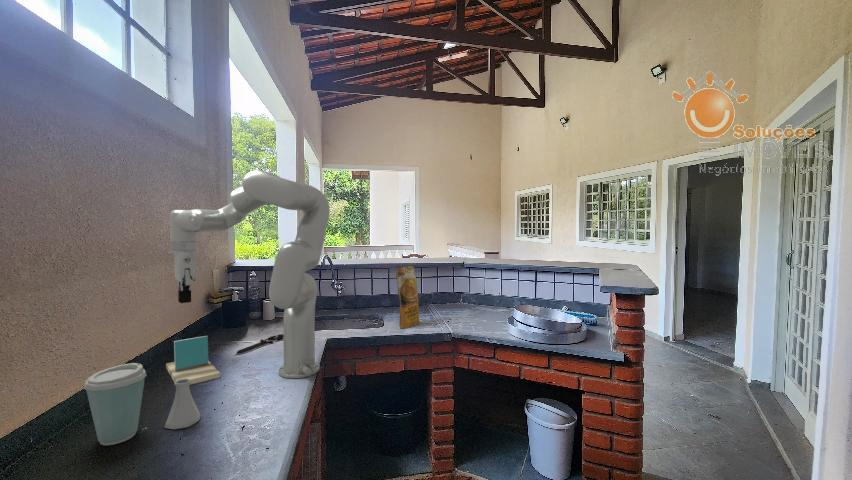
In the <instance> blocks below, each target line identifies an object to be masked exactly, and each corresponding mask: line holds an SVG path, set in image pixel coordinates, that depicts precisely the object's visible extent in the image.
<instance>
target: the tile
mask: <svg viewBox="0 0 852 480" xmlns="http://www.w3.org/2000/svg"><path fill="white" fill-rule="evenodd" d="M173 351H174V354H173V355H174V362H175V371H178V370H183V369H188V368H192V367H197V366H202V365H206V364H209V362H210V361H209V337H208V335H203V336H196V337H192V338H191V337H190V338H186V339H179V340H173Z"/></svg>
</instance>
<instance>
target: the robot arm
mask: <svg viewBox="0 0 852 480" xmlns="http://www.w3.org/2000/svg"><path fill="white" fill-rule="evenodd" d="M229 201H230V203H229V204H227V205H224V206H223V207H221V208H219V209H202V208H197V209H196V208H195V209H174V210H172V211H170V213H169V238H170V239H169V241H170V245H169V247H170V253H173V254H174V256H173V257H174V263H173V264H174V278H175V280H176V281H178V283H177V284H178V291H177V295H178V296H177V297H178V298H177V300H178V303H180V304H186V303H192V287H191V286H192V282H196V281H197V279H198V277H197V274H198V273H197V263H196V262H197V260H196V259H197V258H196V252H198V233H219V232H220V233H221V232H223V231H226V230H228V229H231V228H232V227H234V226H236V225H238V224H239V223H241V222H243V221H244V220H245V219H246V218H247V216H248V215H249V214H250V213H252V212H254V211H256V210H258V209H260V208H262V207H265V205H268V204H269V205H272V206H276V207H278V208H281V209H285V210H290V211H299V212H300V211H301V212H303V214H302V215H303V216H302V218H301V219H300V221H299V224H298V227H297V231H296V236H295V238H294V241H290V242H286V243H284V244H283V245H282V246H281V247H280V248H279V250H278V252H277V253H276V256H275V259H274V264H273V268H272V273H271V278H270V283H269V290H268V296H269V300H270V302H271V303H272V305H273V306H274V307H276V308H278V309H281V310H284V311H283V312H284V313H283V335H284V337H283V365H281V366H280V367H279V368H278V375H279V376H280V377H282V378H286V379H302V378H306V377H310V376H314V375H315V374H316V373H318V372H320V369H321V366H320V364H319V363H318V362H317V361H315V360H316V358H315V357H316V352H315V350H316V346H315V345H316V343H315V342H316V328H315V327H316V324H315V323H316V318H315V317H316V303H317V302H316V301H317V295H318V285H317V281H316V280H315V278H314V277H313V276H312V275H310V274H309V273H306V272H307V271H310V270H313V269H315V268H316V267H317V266H318V265H319V263H320V261H321V256H322V252H323V247H324V243H325V238H326V231H327V228H328V224H329V219H330V213H331V208H330V203H329V200H328V198H327V197H326V196H325V194H324V193H323V192H322V191H321V190H319V189H318V188H316V187H314V186H312V185H309V184H307V183H301V182H298V181H294V180H289V179H287V178H282V177H280V175H277V174H276V173H272V172H269V171H265V170H259V169H255V170H251V171H249V172H248V173H246V174H245V175H244V177H243V179H242V181H241V186H238V187H237V188H234V189H233V190H232V191H231V192H230V194H229Z"/></svg>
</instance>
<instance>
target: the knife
mask: <svg viewBox="0 0 852 480" xmlns="http://www.w3.org/2000/svg"><path fill="white" fill-rule="evenodd" d="M267 340H268V341H267ZM282 340H284V333H282V334H276V335H272V336H269V337H268V338H266V339H259V341H260V342H258V343H255V344H253V345H252V344H251V345H250V346H246V347H243V348H242V349H239V350H237V351H236V353H235V354H234V356H238V355H244V354H247V353H249V352H252V351H255V350H257V349H260V348H262V347H265V346H267V345H273V344H274V343H275V341H276V342H280V341H282Z"/></svg>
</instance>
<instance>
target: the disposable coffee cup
mask: <svg viewBox="0 0 852 480" xmlns="http://www.w3.org/2000/svg"><path fill="white" fill-rule="evenodd" d="M146 377H147V372H146V370H145V368H144V366H143V364H141V363H137V362H130V363H124V364H123V363H122V364H120V365H115V366H111V367H108V368H106V369H103V370H100V371H97V372H95V373H93V374H92V375H91V376H88V378H87V379H86V380H85V381H84V390H86V394H87V400H88V403H89V409H90V411H91V417H92V420H93V425H94V429H95V434H96V438H97V442H99V444H100V446H101V445H102V446H105V447H106V446H113V445H116V444H120V443H123V442H124V443H125V442H126V441H128V440H131V439H132V438H133V437H134V436H135V435H136V434H137V431H138V430H139V429H138V427H139V420H140V414H141V407H142V401H143V400H142V399H143V392H144V387H145V380H146V379H145V378H146Z"/></svg>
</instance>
